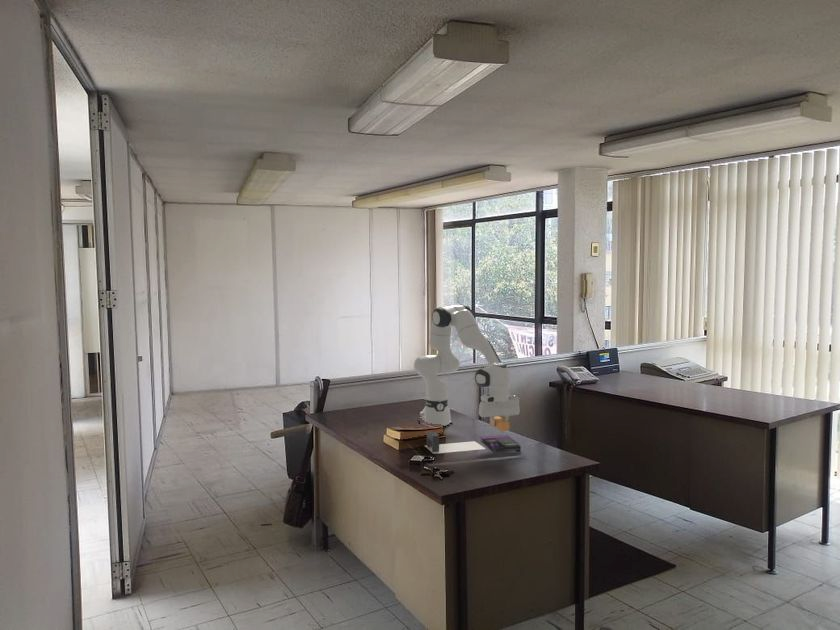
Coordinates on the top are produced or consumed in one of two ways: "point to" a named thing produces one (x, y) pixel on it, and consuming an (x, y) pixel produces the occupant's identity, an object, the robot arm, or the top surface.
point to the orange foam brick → (500, 423)
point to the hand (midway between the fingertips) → (499, 425)
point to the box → (501, 443)
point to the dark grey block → (433, 440)
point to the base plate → (457, 447)
